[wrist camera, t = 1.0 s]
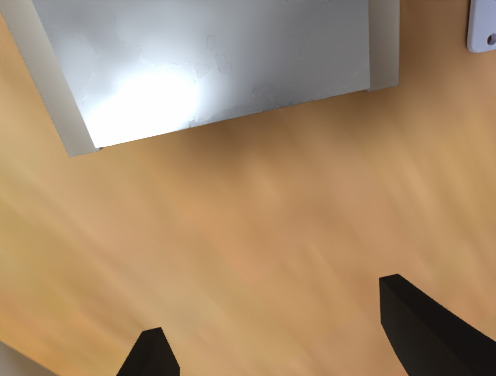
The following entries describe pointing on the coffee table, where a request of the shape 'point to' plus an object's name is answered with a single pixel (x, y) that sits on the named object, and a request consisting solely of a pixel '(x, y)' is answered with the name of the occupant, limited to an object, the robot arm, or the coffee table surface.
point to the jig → (64, 105)
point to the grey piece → (202, 59)
